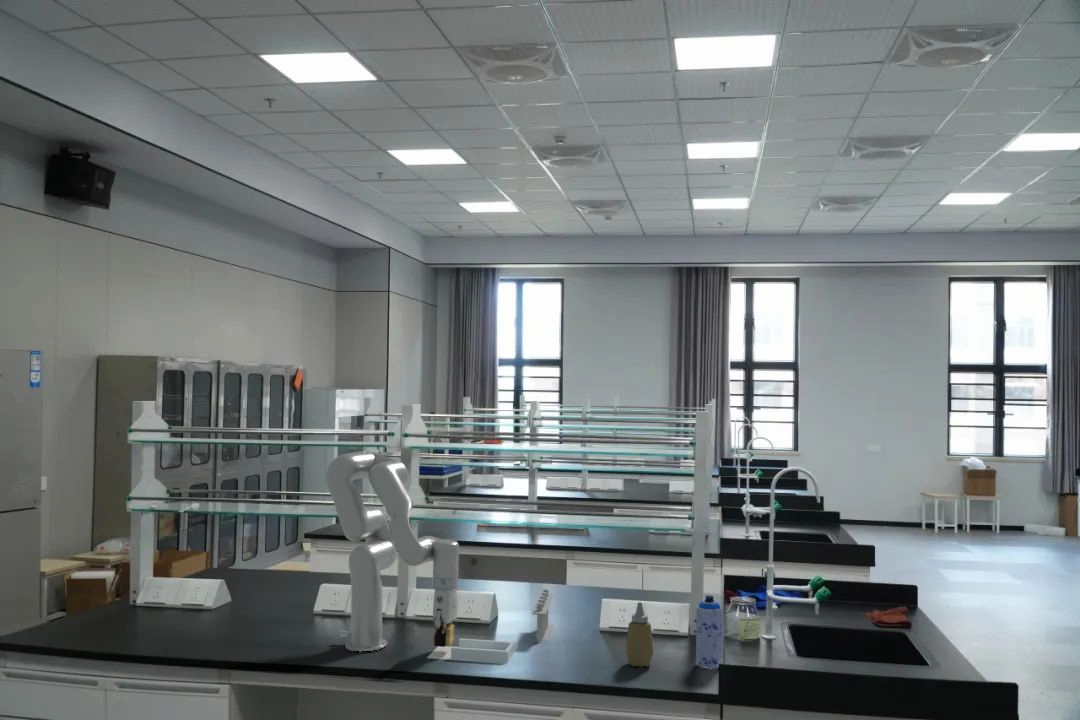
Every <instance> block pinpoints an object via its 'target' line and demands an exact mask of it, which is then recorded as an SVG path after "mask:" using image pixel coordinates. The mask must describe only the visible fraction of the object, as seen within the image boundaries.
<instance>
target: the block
mask: <svg viewBox="0 0 1080 720" xmlns="http://www.w3.org/2000/svg"><path fill="white" fill-rule="evenodd" d="M440 626H442V628H443V624H440ZM445 633H446V645H445V646H449V647H450V646H452V644H453V643H454V639H455V638H454V637H455V636H454V635H455V624H453V623H452V624H446V627H445ZM432 640H433V641H432V646H435V626H434V627H433V637H432Z"/></svg>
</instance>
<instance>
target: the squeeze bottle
mask: <svg viewBox="0 0 1080 720" xmlns="http://www.w3.org/2000/svg"><path fill="white" fill-rule="evenodd" d="M643 607H644V606H643V602H640V601H639V602H637V606H636V609H635V613H632V614H631V621H630V622H629V623H628V627H627V628H628V629H627V636H626V637H627V638H626V646H625V647H626V648H625V654H626V658H627V660H628V664H629V665H630V666H632V667H635V666H639V667H638V668H643V667H642V666H646V667H649V666H650V665H649V664H651V661H652V658H653V655H654V646H653V645H654V644H653V634H652V624H651V623H650V622H649V621H648V619H649V618H648V617H649V615H648V614H646V613H645V611H644V608H643ZM648 665H649V666H648Z"/></svg>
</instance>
